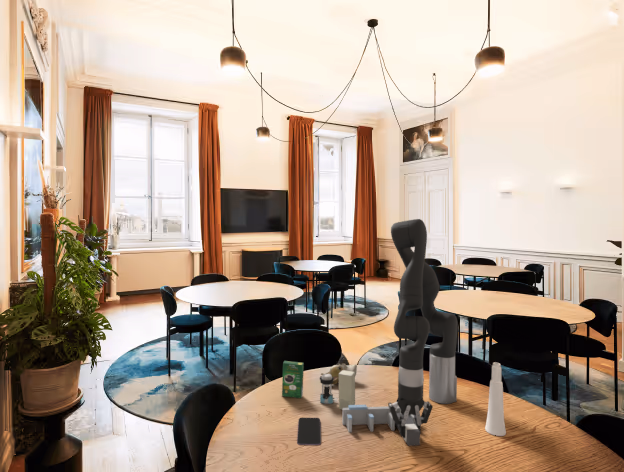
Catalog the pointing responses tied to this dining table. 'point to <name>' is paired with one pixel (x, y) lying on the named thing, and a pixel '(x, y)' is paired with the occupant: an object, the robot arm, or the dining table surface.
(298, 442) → the smartphone
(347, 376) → the box
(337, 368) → the ceramic sculpture
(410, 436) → the gray rectangular block
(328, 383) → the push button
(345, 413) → the grey pronged rack
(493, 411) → the cosmetic bottle
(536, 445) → the dining table surface
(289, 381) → the coffee box
